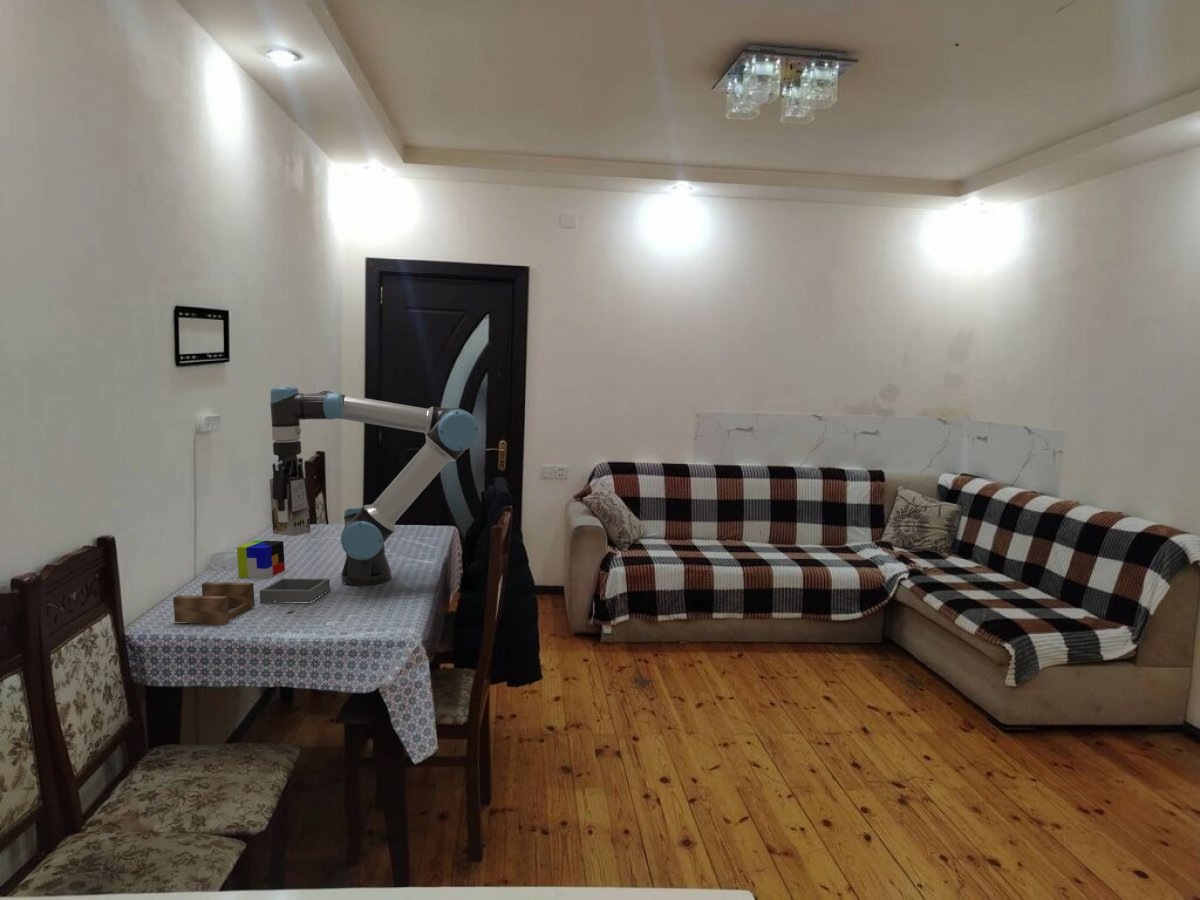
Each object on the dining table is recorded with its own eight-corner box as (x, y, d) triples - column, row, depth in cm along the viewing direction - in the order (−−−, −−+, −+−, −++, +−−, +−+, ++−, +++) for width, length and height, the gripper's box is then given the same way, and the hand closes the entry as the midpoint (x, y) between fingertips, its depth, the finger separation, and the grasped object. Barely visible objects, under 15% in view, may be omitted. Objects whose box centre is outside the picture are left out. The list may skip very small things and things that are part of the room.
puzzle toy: (266, 579, 257) (264, 548, 256) (238, 577, 259) (236, 547, 258) (285, 571, 267) (283, 541, 266) (257, 569, 269) (256, 540, 268)
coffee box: (311, 532, 236) (308, 477, 234) (293, 536, 230) (290, 480, 228) (290, 529, 240) (287, 475, 238) (271, 533, 235) (268, 478, 233)
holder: (254, 607, 228) (253, 582, 227) (225, 624, 213) (223, 598, 212) (207, 606, 229) (205, 582, 228) (174, 623, 214) (173, 597, 213)
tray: (330, 590, 243) (329, 578, 243) (310, 603, 230) (310, 591, 230) (282, 589, 244) (281, 578, 244) (260, 602, 232) (259, 590, 231)
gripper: (281, 444, 221) (286, 526, 224) (315, 437, 242) (319, 512, 245) (255, 444, 222) (260, 526, 225) (291, 437, 243) (295, 512, 245)
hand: (290, 518), depth 235 cm, fingers closed on coffee box, 8 cm apart
